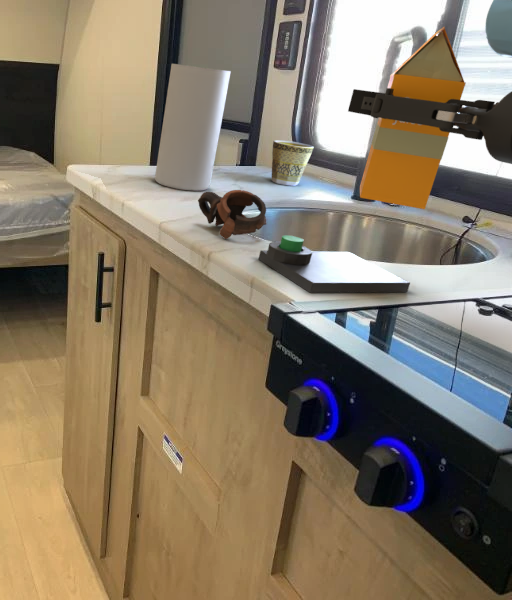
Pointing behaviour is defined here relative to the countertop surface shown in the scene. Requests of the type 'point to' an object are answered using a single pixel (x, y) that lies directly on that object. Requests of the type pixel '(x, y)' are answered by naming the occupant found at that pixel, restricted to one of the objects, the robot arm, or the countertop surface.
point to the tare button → (291, 243)
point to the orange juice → (413, 128)
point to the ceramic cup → (289, 161)
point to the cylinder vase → (191, 127)
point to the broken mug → (232, 212)
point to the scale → (331, 271)
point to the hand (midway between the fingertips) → (386, 104)
